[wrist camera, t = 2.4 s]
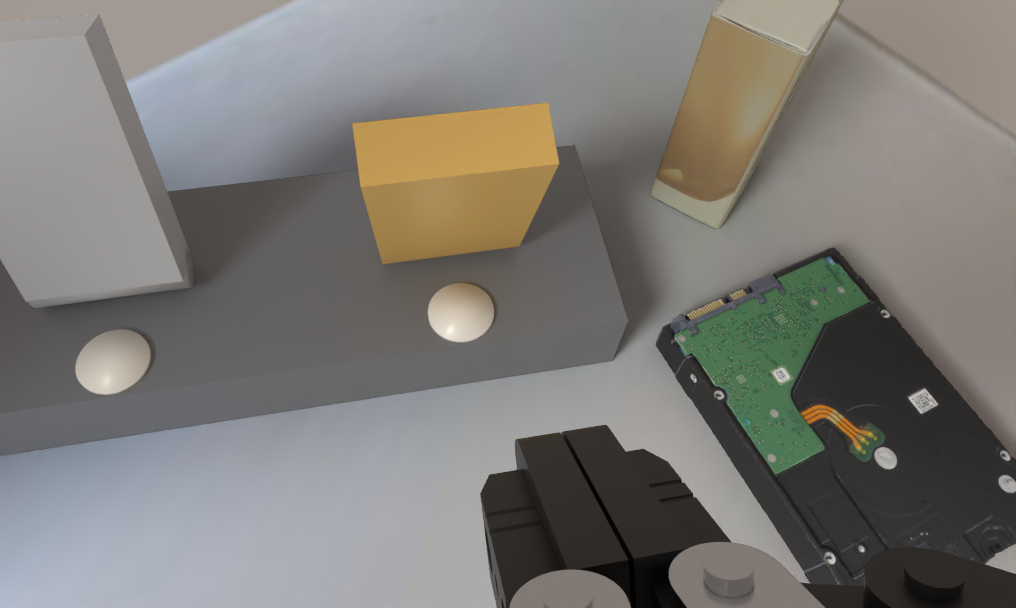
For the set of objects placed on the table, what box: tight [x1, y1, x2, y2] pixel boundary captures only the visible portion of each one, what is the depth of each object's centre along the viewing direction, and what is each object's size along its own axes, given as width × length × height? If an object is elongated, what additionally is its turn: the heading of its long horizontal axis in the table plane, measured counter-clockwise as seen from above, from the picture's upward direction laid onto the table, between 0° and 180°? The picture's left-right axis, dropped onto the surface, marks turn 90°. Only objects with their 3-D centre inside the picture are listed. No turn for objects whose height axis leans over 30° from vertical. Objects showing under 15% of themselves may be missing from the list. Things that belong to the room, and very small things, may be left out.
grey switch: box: [0, 14, 194, 308], centre depth 27 cm, size 6×2×11 cm, turn 101°
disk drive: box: [656, 248, 1016, 586], centre depth 32 cm, size 10×3×15 cm
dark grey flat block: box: [0, 145, 628, 456], centre depth 33 cm, size 28×10×4 cm, turn 101°
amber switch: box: [352, 103, 559, 264], centre depth 27 cm, size 6×2×11 cm, turn 101°
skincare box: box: [650, 0, 843, 229], centre depth 35 cm, size 6×4×12 cm
